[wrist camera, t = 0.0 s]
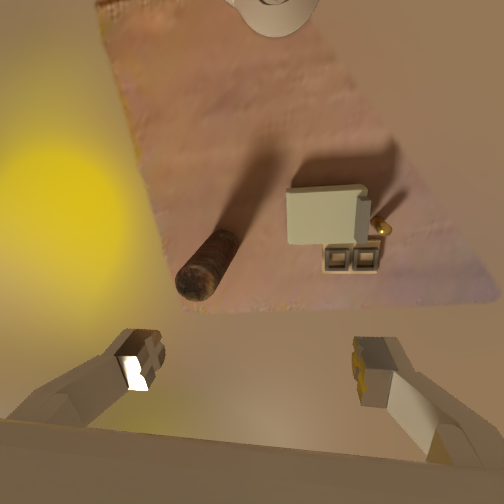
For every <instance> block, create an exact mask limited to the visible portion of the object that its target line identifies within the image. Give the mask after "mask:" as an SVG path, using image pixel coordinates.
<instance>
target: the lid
mask: <svg viewBox="0 0 504 504" xmlns="http://www.w3.org/2000/svg"><path fill="white" fill-rule="evenodd" d="M367 194H368V189H367V188H366V187H365V186H363V185H362V184H351V185H334V186H317V187H300V188H287V190H286V202H287V234H288V244H291V245H298V244H341V243H357V244H367V240H368V230H369V220H370V210H371V200H370V199H369V198H368V197H367Z"/></svg>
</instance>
